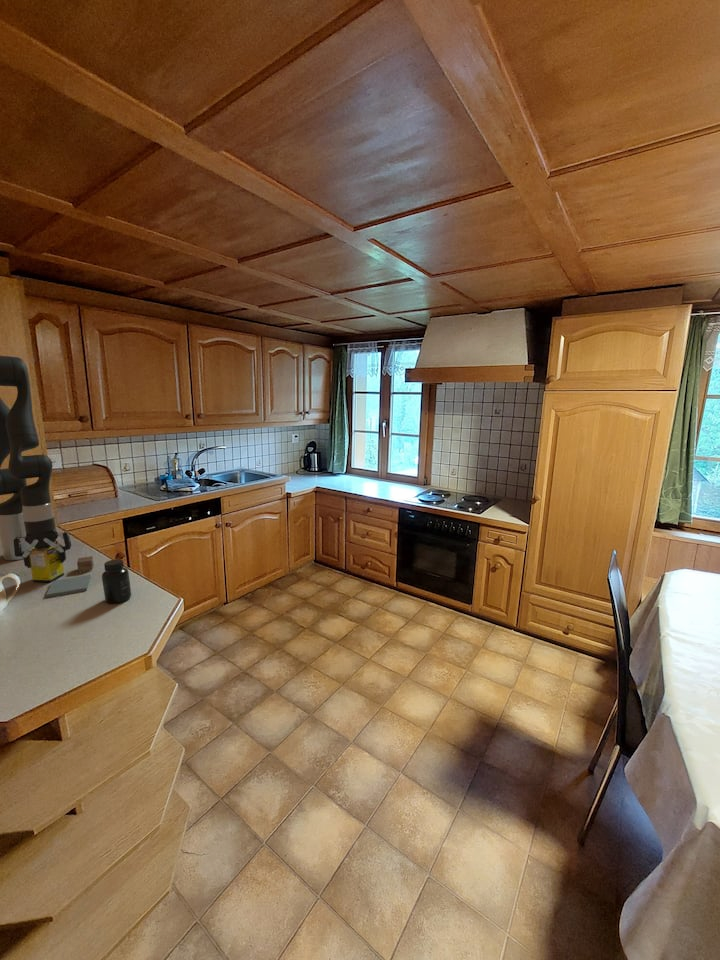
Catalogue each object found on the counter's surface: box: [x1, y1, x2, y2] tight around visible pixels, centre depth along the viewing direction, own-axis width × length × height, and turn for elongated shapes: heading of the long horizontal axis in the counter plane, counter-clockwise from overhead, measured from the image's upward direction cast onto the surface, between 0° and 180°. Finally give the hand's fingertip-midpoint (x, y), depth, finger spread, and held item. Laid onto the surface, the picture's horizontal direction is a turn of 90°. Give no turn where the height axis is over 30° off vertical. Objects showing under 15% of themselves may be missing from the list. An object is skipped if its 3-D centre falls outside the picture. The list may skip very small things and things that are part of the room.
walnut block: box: [76, 555, 94, 573], centre depth 136 cm, size 4×4×4 cm
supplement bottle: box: [101, 558, 132, 605], centre depth 117 cm, size 7×7×12 cm
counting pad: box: [45, 574, 91, 598], centre depth 124 cm, size 10×10×1 cm
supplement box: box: [29, 546, 65, 583], centre depth 128 cm, size 6×6×11 cm
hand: (46, 564), depth 128 cm, fingers open, 8 cm apart
